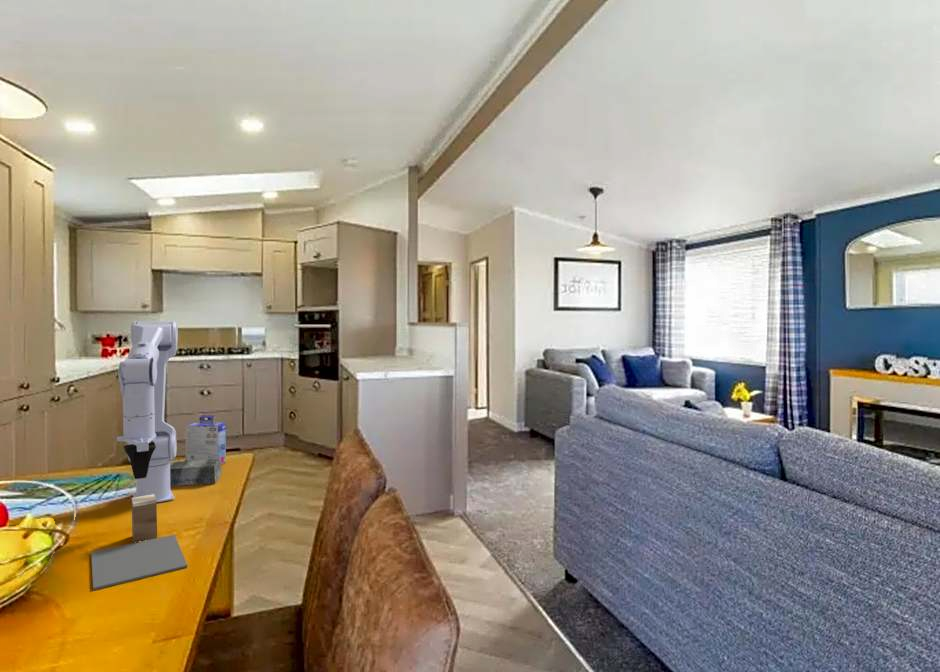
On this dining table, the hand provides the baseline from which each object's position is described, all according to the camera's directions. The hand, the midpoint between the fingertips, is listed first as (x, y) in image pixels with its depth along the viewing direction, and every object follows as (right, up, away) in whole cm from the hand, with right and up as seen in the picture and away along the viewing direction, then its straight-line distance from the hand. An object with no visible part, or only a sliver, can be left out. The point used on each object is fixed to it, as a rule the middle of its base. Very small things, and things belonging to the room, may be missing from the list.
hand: (140, 477), depth 115 cm
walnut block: (+4, -11, -5) cm, 13 cm away
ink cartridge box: (-8, -8, +45) cm, 47 cm away
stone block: (-5, -9, +31) cm, 33 cm away
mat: (+9, -11, -15) cm, 21 cm away
